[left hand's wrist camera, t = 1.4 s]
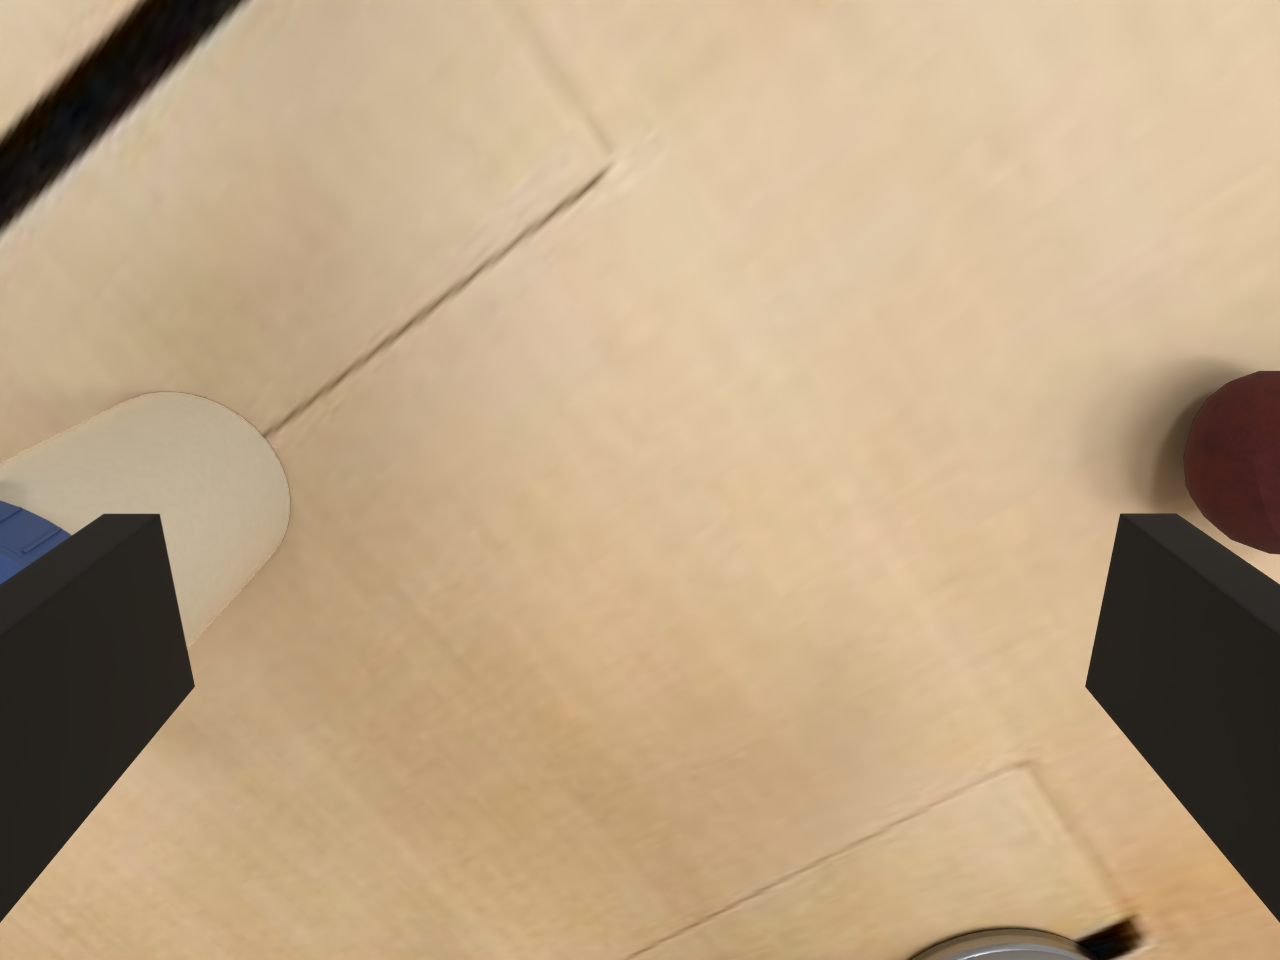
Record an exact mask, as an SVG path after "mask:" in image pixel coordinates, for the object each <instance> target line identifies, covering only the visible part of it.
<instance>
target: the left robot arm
mask: <svg viewBox="0 0 1280 960" xmlns="http://www.w3.org/2000/svg"><path fill="white" fill-rule="evenodd" d="M194 687H195V685H194V680H193V675H192V671H191V666H190V661H189V656H188V651H187V646H186V641H185V636H184V631H183V626H182V621H181V616H180V611H179V606H178V601H177V596H176V591H175V587H174V582H173V577H172V572H171V567H170V562H169V557H168V552H167V547H166V542H165V537H164V532H163V527H162V522H161V517H160V514H102V515H101V516H100V517H98V518H97V519H95V520H94V521H92V522H91V523H89V524H88V525H86V526H85V527H83V528H82V529H81V530H79V531H78V532H76V533H75V534H73V535H72V536H70V537H69V538H67V539H66V540H65V541H63V542H62V543H60V544H59V545H57V546H56V547H54V548H53V549H51V550H50V551H48V552H47V553H46V554H44V555H43V556H41V557H40V558H38V559H37V560H35V561H34V562H32V563H31V564H30V565H28V566H27V567H25V568H24V569H22V570H21V571H19V572H18V573H16V574H15V575H13V576H12V577H11V578H9V579H8V580H6V581H5V582H3V583H2V584H0V922H1V921H2V920H3V919H4V917H5V916H6V915H7V914H8V913H9V911H10V910H11V909H12V908H13V906H14V905H15V904H16V903H17V902H18V900H19V899H20V898H21V897H22V896H23V894H24V893H25V892H26V891H27V889H28V888H29V887H30V886H31V885H32V883H33V882H34V881H35V880H36V879H37V877H38V876H39V875H40V874H41V872H42V871H43V870H44V869H45V868H46V866H47V865H48V864H49V863H50V862H51V860H52V859H53V858H54V857H55V855H56V854H57V853H58V852H59V851H60V849H61V848H62V847H63V846H64V845H65V843H66V842H67V841H68V840H69V838H70V837H71V836H72V835H73V834H74V832H75V831H76V830H77V829H78V828H79V826H80V825H81V824H82V823H83V821H84V820H85V819H86V818H87V817H88V815H89V814H90V813H91V812H92V811H93V809H94V808H95V807H96V806H97V805H98V803H99V802H100V801H101V800H102V798H103V797H104V796H105V795H106V794H107V792H108V791H109V790H110V789H111V788H112V786H113V785H114V784H115V783H116V781H117V780H118V779H119V778H120V777H121V775H122V774H123V773H124V772H125V771H126V769H127V768H128V767H129V766H130V764H131V763H132V762H133V761H134V760H135V758H136V757H137V756H138V755H139V754H140V752H141V751H142V750H143V749H144V747H145V746H146V745H147V744H148V743H149V741H150V740H151V739H152V738H153V737H154V735H155V734H156V733H157V732H158V730H159V729H160V728H161V727H162V726H163V724H164V723H165V722H166V721H167V720H168V718H169V717H170V716H171V715H172V713H173V712H174V711H175V710H176V709H177V707H178V706H179V705H180V704H181V703H182V701H183V700H184V699H185V698H186V696H187V695H188V694H189V693H190V692H191V690H192V689H193V688H194ZM1085 687H1086V688H1087V689H1088V690H1089V692H1090V693H1091V694H1092V695H1093V696H1094V698H1095V699H1096V700H1097V701H1098V703H1099V704H1100V705H1101V706H1102V707H1103V709H1104V710H1105V711H1106V712H1107V713H1108V715H1109V716H1110V717H1111V718H1112V720H1113V721H1114V722H1115V723H1116V724H1117V726H1118V727H1119V728H1120V729H1121V730H1122V732H1123V733H1124V734H1125V735H1126V737H1127V738H1128V739H1129V740H1130V741H1131V743H1132V744H1133V745H1134V746H1135V747H1136V749H1137V750H1138V751H1139V752H1140V754H1141V755H1142V756H1143V757H1144V758H1145V760H1146V761H1147V762H1148V763H1149V764H1150V766H1151V767H1152V768H1153V769H1154V771H1155V772H1156V773H1157V774H1158V775H1159V777H1160V778H1161V779H1162V780H1163V781H1164V783H1165V784H1166V785H1167V786H1168V788H1169V789H1170V790H1171V791H1172V792H1173V794H1174V795H1175V796H1176V797H1177V798H1178V800H1179V801H1180V802H1181V803H1182V805H1183V806H1184V807H1185V808H1186V809H1187V811H1188V812H1189V813H1190V814H1191V815H1192V817H1193V818H1194V819H1195V820H1196V821H1197V823H1198V824H1199V825H1200V826H1201V828H1202V829H1203V830H1204V831H1205V832H1206V834H1207V835H1208V836H1209V837H1210V838H1211V840H1212V841H1213V842H1214V843H1215V845H1216V846H1217V847H1218V848H1219V849H1220V851H1221V852H1222V853H1223V854H1224V855H1225V857H1226V858H1227V859H1228V860H1229V862H1230V863H1231V864H1232V865H1233V866H1234V868H1235V869H1236V870H1237V871H1238V872H1239V874H1240V875H1241V876H1242V877H1243V879H1244V880H1245V881H1246V882H1247V883H1248V885H1249V886H1250V887H1251V888H1252V889H1253V891H1254V892H1255V893H1256V894H1257V896H1258V897H1259V898H1260V899H1261V900H1262V902H1263V903H1264V904H1265V905H1266V906H1267V908H1268V909H1269V910H1270V911H1271V913H1272V914H1273V915H1274V916H1275V917H1276V919H1277V920H1278V921H1279V922H1280V584H1278V583H1277V582H1275V581H1274V580H1272V579H1271V578H1269V577H1268V576H1267V575H1265V574H1264V573H1262V572H1261V571H1259V570H1258V569H1256V568H1255V567H1253V566H1252V565H1250V564H1249V563H1248V562H1246V561H1245V560H1243V559H1242V558H1240V557H1239V556H1237V555H1236V554H1234V553H1233V552H1232V551H1230V550H1229V549H1227V548H1226V547H1224V546H1223V545H1221V544H1220V543H1218V542H1217V541H1215V540H1214V539H1213V538H1211V537H1210V536H1208V535H1207V534H1205V533H1204V532H1202V531H1201V530H1199V529H1198V528H1197V527H1195V526H1194V525H1192V524H1191V523H1189V522H1188V521H1186V520H1185V519H1183V518H1182V517H1180V516H1179V515H1178V514H1120V517H1119V522H1118V527H1117V532H1116V537H1115V542H1114V547H1113V552H1112V557H1111V562H1110V567H1109V572H1108V577H1107V582H1106V587H1105V591H1104V596H1103V601H1102V606H1101V611H1100V616H1099V621H1098V626H1097V631H1096V636H1095V641H1094V646H1093V651H1092V656H1091V661H1090V666H1089V671H1088V675H1087V680H1086V685H1085Z"/></svg>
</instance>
